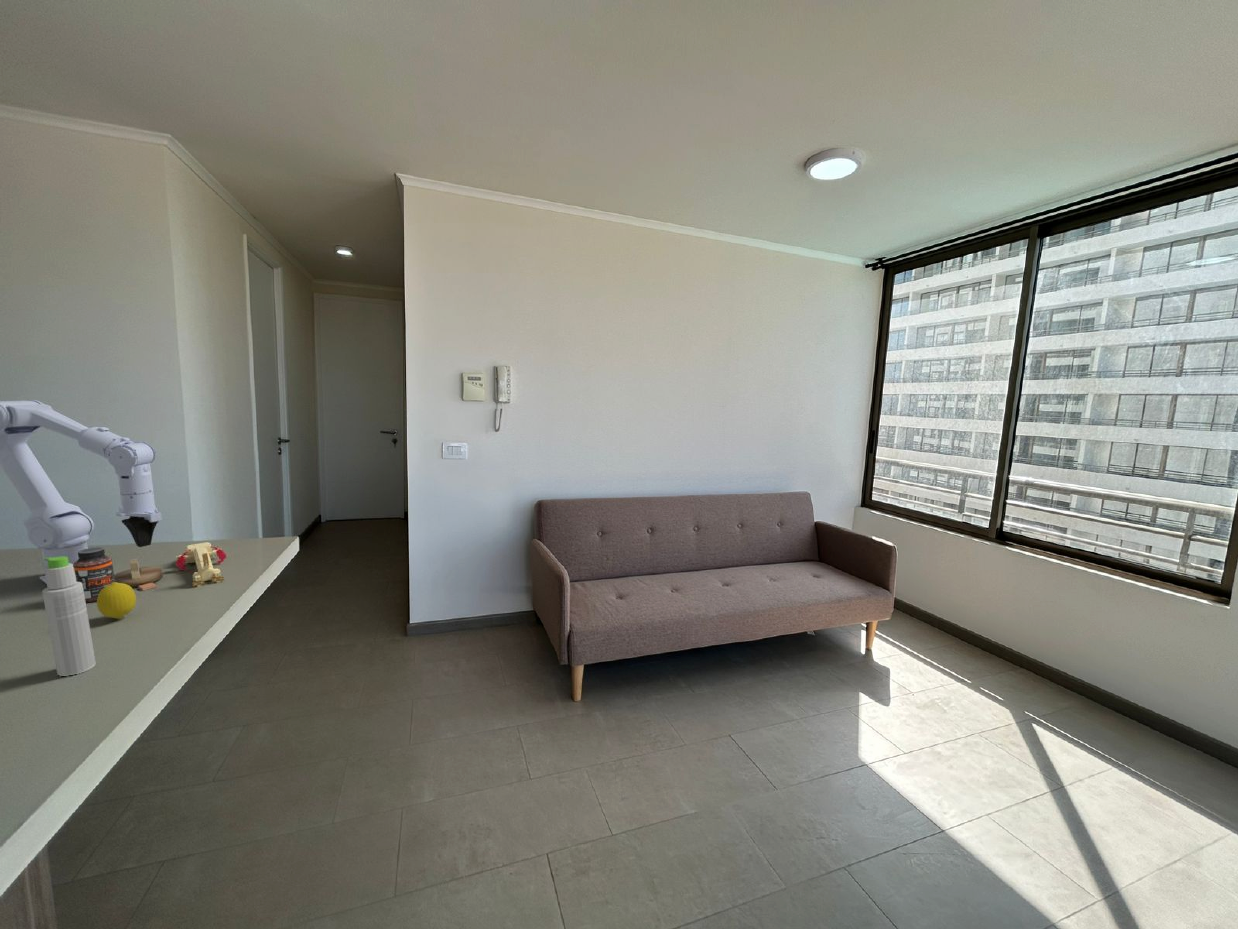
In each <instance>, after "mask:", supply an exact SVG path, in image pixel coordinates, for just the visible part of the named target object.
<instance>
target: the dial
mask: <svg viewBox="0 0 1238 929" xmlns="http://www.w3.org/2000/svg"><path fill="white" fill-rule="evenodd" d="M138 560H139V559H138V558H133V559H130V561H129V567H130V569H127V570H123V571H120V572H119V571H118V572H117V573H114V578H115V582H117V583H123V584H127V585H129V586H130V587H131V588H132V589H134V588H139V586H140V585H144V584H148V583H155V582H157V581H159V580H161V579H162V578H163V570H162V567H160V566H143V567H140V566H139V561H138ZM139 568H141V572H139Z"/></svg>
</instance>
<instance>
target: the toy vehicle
mask: <svg viewBox="0 0 1238 929" xmlns="http://www.w3.org/2000/svg"><path fill="white" fill-rule="evenodd" d="M216 557H218V560H217V565H218V564H219V565H220V564H221V563H223V562H225V561H224V560H225V559H226V558H227V554H226V552H224V551H223V549H222V548H218V546H216V547H215V546H213V548H212V544H211V542H207V541H206V542H201V543H195V544H189V545H186V547H185V552H183V553H182V554H179V555H178V556H177V555H176V556H175V558H176V560H175V565H176V568H179V569H180V570H183V571H185V572H186V571H188V569H187V566H185V564H186V565H187V563H190V564H192V563H195V566H196V569H197V572H196V571H195V572H194V573H193V574H192V580H193V581H191V582H192V587H196V586H200V585H205V584H206V583H205V582H207V581H212V583H216V582H219V581H221V582H222V581H224V579H225V578H224V575H223V574H221V573H222V572H221V569H219V568H214V566H213V563H212V559H216ZM219 583H220V582H219ZM200 587H201V586H200Z"/></svg>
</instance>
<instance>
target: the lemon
mask: <svg viewBox="0 0 1238 929" xmlns="http://www.w3.org/2000/svg"><path fill="white" fill-rule="evenodd" d="M136 603H137V596H136V593H135V591H134V588H131V587H130V586H129V585H127V584H123V583H117V582H113V583H111V584H110V585H108V586H106V587H105V588H104V589H102V590H101V591H100V593H99V595H98V598H97V601H96V606H97V610H98V611H99V612H100V614H101V615H102V616H104V617H107V618H113V619H116V620H121V619H122V618H124V616H126V615H128V614H129V613H130V612H131V611H132V610H133V609H134V608H135V606H136Z"/></svg>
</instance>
